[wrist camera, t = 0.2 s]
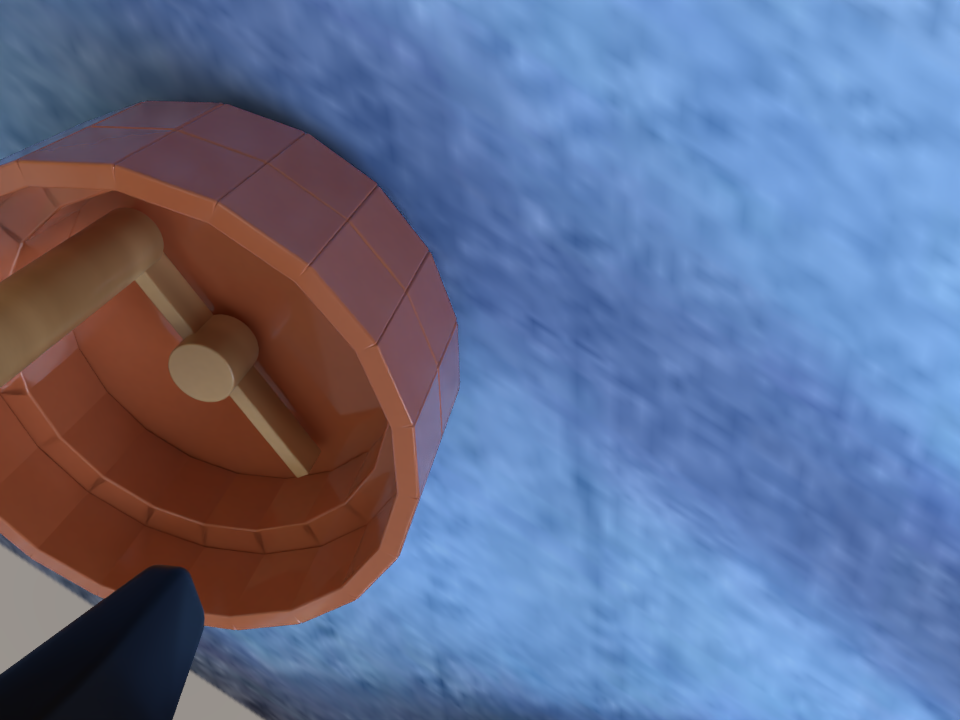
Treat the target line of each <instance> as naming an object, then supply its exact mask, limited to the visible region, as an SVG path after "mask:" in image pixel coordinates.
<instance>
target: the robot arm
mask: <svg viewBox="0 0 960 720" xmlns="http://www.w3.org/2000/svg"><path fill="white" fill-rule="evenodd" d="M204 621H205V616H204V610H203V607H202V604H201V601H200V599H199V596H198V593H197V591H196V588H195V585H194V583H193V580H192V577H191V575H190V573H189V571H188V570H186V569H185V568H184V567H179V566H169V565H152V566H150V567H148V568H146V569H145V570H143V571H142V572H140V573H139V574H138V575H136V576H135V577H134V578H132V579H131V580H129V581H128V582H127V583H125V584H124V585H123V586H121V587H120V588H118V589H117V590H116V591H114V592H113V593H112V594H110V595H109V596H107V597H106V598H105V599H103V600H102V601H101V602H99V603H98V604H96V605H95V606H94V607H92V608H91V609H90V610H88V611H87V612H85V613H84V614H83V615H81V616H80V617H79V618H77V619H76V620H75V621H73V622H72V623H70V624H69V625H68V626H66V627H65V628H63V629H62V630H61V631H59V632H58V633H57V634H55V635H54V636H52V637H51V638H50V639H49V640H47V641H46V642H44V643H43V644H42V645H40V646H39V647H37V648H36V649H35V650H33V651H32V652H31V653H29V654H28V655H27V656H25V657H24V658H23V659H21V660H20V661H18V662H17V663H16V664H14V665H13V666H11V667H10V668H9V669H7V670H6V671H5V672H3V673H2V674H0V720H172V719H173V716H174V713H175V710H176V707H177V705H178V702H179V699H180V696H181V693H182V690H183V687H184V684H185V682H186V678H187V676H188V673H189V670H190V667H191V664H192V661H193V658H194V656H195V653H196V650H197V647H198V644H199V641H200V638H201V635H202V632H203V628H204Z"/></svg>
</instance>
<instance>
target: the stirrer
mask: <svg viewBox="0 0 960 720" xmlns="http://www.w3.org/2000/svg"><path fill="white" fill-rule="evenodd" d="M163 249H164V242H163V237H162V234H161V232H160V230H159V228H158V227H157V225H156V224H155V223H154V222H153V220H152V219H150V218H149V217H148V216H147V215H146V214H144V213H142V212H140V211H138V210H136V209H132V208H117V209H114V210H112V211H110V212H109V213H107V214H106V215H104V216H103V217H101V218H100V219H98V220H96V221H95V222H93V223H92V224H90V225H89V226H87V227H85V228H84V229H82V230H81V231H79V232H78V233H76V234H74V235H73V236H71V237H70V238H68V239H67V240H65V241H64V242H62V243H60V244H59V245H57V246H56V247H54V248H53V249H51V250H49V251H48V252H46V253H45V254H43V255H42V256H40V257H38V258H37V259H35V260H34V261H32V262H31V263H29V264H27V265H26V266H24V267H23V268H21V269H20V270H18V271H17V272H15V273H13V274H12V275H10V276H9V277H7V278H6V279H4V280H2V281H1V282H0V388H1V387H2V386H4V385H5V384H6V383H7V382H9V381H10V380H11V379H12V378H14V377H15V376H16V375H17V374H19V373H20V372H21V371H22V370H24V369H25V368H26V367H27V366H29V365H30V364H31V363H32V362H34V361H35V360H36V359H37V358H39V357H40V356H41V355H42V354H43V353H45V352H46V351H47V350H48V349H50V348H51V347H52V346H53V345H55V344H56V343H57V342H58V341H60V340H61V339H62V338H63V337H65V336H66V335H67V334H68V333H70V332H71V331H72V330H73V329H75V328H76V327H77V326H78V325H80V324H81V323H82V322H83V321H85V320H86V319H87V318H88V317H90V316H91V315H92V314H93V313H95V312H96V311H97V310H98V309H99V308H101V307H102V306H103V305H104V304H106V303H107V302H108V301H109V300H111V299H112V298H113V297H114V296H116V295H117V294H118V293H119V292H121V291H122V290H123V289H124V288H126V287H127V286H128V285H129V284H131V283H132V282H133V281H134V280H135V281H136V283H137V284H138V285H139V286H140V288H141V289H142V290H143V291H144V292H145V294H146V295H147V296H148V297H149V298H150V300H151V301H152V302H153V303H154V305H155V306H156V307H157V308H158V309H159V311H160V312H161V313H162V314H163V315H164V317H165V318H166V319H167V320H168V322H169V323H170V324H171V325H172V326H173V328H174V329H175V330H176V331H177V332H178V334H179V335H180V336H181V337H182V339H183V340H182V341H181V342H180V343H179V344H178V345H177V346H176V347H175V349H174V350H173V351H172V352H171V354H170V356H169V360H168V368H169V372H170V375H171V377H172V379H173V381H174V382H175V384H176V385H177V386H178V387H179V388H180V389H181V390H182V391H183V392H184V393H186V394H187V395H189V396H190V397H192V398H194V399H197V400H200V401H204V402H217V401H221V400H223V399H225V398H227V397H228V396H230V397H231V398H232V399H233V401H234V402H235V403H236V404H237V405H238V407H239V408H240V409H241V410H242V411H243V413H244V414H245V415H246V416H247V418H248V419H249V420H250V421H251V422H252V424H253V425H254V426H255V427H256V428H257V430H258V431H259V432H260V433H261V435H262V436H263V437H264V438H265V439H266V441H267V442H268V443H269V444H270V445H271V447H272V448H273V449H274V450H275V452H276V453H277V454H278V455H279V456H280V458H281V459H282V460H283V461H284V462H285V464H286V465H287V466H288V467H289V469H290V470H291V471H292V472H293V473H294V475H295V476H296V477H297V478H299V477H302V476H304V475H307V474H309V472H310V471H311V469H312V467H313V465H314V463H315V462H316V460H317V458H318V456H319V454H320V453H321V450H320V449H319V447H318V446H317V445H316V444H315V442H314V441H313V440H312V438H311V437H310V436H309V435H308V433H307V432H306V431H305V430H304V428H303V427H302V426H301V425H300V423H299V422H298V421H297V420H296V418H295V417H294V416H293V415H292V413H291V412H290V411H289V409H288V408H287V407H286V406H285V404H284V403H283V402H282V401H281V399H280V398H279V397H278V396H277V394H276V393H275V392H274V391H273V389H272V388H271V387H270V386H269V384H268V383H267V382H266V381H265V379H264V378H263V377H262V375H261V374H260V373H259V372H258V370H257V369H256V368H255V367H254V364H255V362H256V360H257V358H258V354H259V347H258V342H257V339H256V337H255V335H254V334H253V332H252V331H251V330H250V329H249V327H248V326H246V325H245V324H244V323H243V322H241V321H240V320H238V319H236V318H234V317H231V316H228V315H223V314H217V315H213V314H212V312H211V311H210V310H209V309H208V307H207V306H206V305H205V304H204V302H203V301H202V300H201V299H200V297H199V296H198V295H197V294H196V292H195V291H194V290H193V288H192V287H191V286H190V285H189V283H188V282H187V281H186V280H185V278H184V277H183V276H182V275H181V273H180V272H179V271H178V270H177V268H176V267H175V266H174V265H173V263H172V262H171V261H170V260H169V258H168V257H167V256H166V254H165V253H164V252H163Z"/></svg>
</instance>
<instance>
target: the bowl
mask: <svg viewBox="0 0 960 720" xmlns="http://www.w3.org/2000/svg"><path fill="white" fill-rule="evenodd" d="M117 208H132V209H136V210H138V211H140V212H142V213H144V214H146V215H147V216H148V217H149V218H150V219H152V220H153V222H154V223H155V224H156V225H157V227H158V228H159V230H160V232H161V234H162V237H163V242H164V249H163V252H164V253H165V254H166V256H167V257H168V258H169V260H170V261H171V262H172V263H173V265H174V266H175V267H176V268H177V270H178V271H179V272H180V273H181V275H182V276H183V277H184V278H185V280H186V281H187V282H188V283H189V285H190V286H191V287H192V288H193V290H194V291H195V292H196V294H197V295H198V296H199V297H200V299H201V300H202V301H203V302H204V304H205V305H206V306H207V307H208V309H209V310H210V311H211V312H212V314H213V315H217V314H223V315H228V316H231V317H234V318H236V319H238V320H240V321H241V322H243V323H244V324H245V325H246V326H248V327H249V329H250V330H251V331H252V332H253V334H254V335H255V337H256V339H257V342H258V347H259V354H258V358H257V360H256V362H255V364H254V367H255V368H256V369H257V370H258V372H259V373H260V374H261V375H262V377H263V378H264V379H265V381H266V382H267V383H268V384H269V386H270V387H271V388H272V389H273V391H274V392H275V393H276V394H277V396H278V397H279V398H280V399H281V401H282V402H283V403H284V404H285V406H286V407H287V408H288V409H289V411H290V412H291V413H292V415H293V416H294V417H295V418H296V420H297V421H298V422H299V423H300V425H301V426H302V427H303V428H304V430H305V431H306V432H307V433H308V435H309V436H310V437H311V438H312V440H313V441H314V442H315V444H316V445H317V446H318V447H319V449H320V450H321V453H320V454H319V456H318V458H317V460H316V462H315V463H314V465H313V467H312V469H311V471H310V472H309V474H307V475H304V476H302V477H299V478H297V477H296V476H295V475H294V473H293V472H292V471H291V470H290V469H289V467H288V466H287V465H286V464H285V462H284V461H283V460H282V459H281V458H280V456H279V455H278V454H277V453H276V452H275V450H274V449H273V448H272V447H271V445H270V444H269V443H268V442H267V441H266V439H265V438H264V437H263V436H262V435H261V433H260V432H259V431H258V430H257V428H256V427H255V426H254V425H253V424H252V422H251V421H250V420H249V419H248V418H247V416H246V415H245V414H244V413H243V411H242V410H241V409H240V408H239V407H238V405H237V404H236V403H235V402H234V401H233V399H232V398H231V397H230V396H228V397H227V398H225V399H223V400H221V401H217V402H204V401H200V400H197V399H194V398H192V397H190V396H189V395H187V394H186V393H184V392H183V391H182V390H181V389H180V388H179V387H178V386H177V385H176V384H175V382H174V381H173V379H172V377H171V375H170V372H169V368H168V360H169V356H170V354H171V352H172V351H173V350H174V349H175V347H176V346H177V345H178V344H179V343H180V342H181V341H182V340H183V339H182V337H181V336H180V335H179V334H178V332H177V331H176V330H175V329H174V328H173V326H172V325H171V324H170V323H169V322H168V320H167V319H166V318H165V317H164V315H163V314H162V313H161V312H160V311H159V309H158V308H157V307H156V306H155V305H154V303H153V302H152V301H151V300H150V298H149V297H148V296H147V295H146V294H145V292H144V291H143V290H142V289H141V288H140V286H139V285H138V284H137V283H136V281H135V280H134V281H133V282H132V283H131V284H129V285H128V286H127V287H126V288H124V289H123V290H122V291H121V292H119V293H118V294H117V295H116V296H114V297H113V298H112V299H111V300H109V301H108V302H107V303H106V304H104V305H103V306H102V307H101V308H99V309H98V310H97V311H96V312H95V313H93V314H92V315H91V316H90V317H88V318H87V319H86V320H85V321H83V322H82V323H81V324H80V325H78V326H77V327H76V328H75V329H73V330H72V331H71V332H70V333H68V334H67V335H66V336H65V337H63V338H62V339H61V340H60V341H58V342H57V343H56V344H55V345H53V346H52V347H51V348H50V349H48V350H47V351H46V352H45V353H43V354H42V355H41V356H40V357H39V358H37V359H36V360H35V361H34V362H32V363H31V364H30V365H29V366H27V367H26V368H25V369H24V370H22V371H21V372H20V373H19V374H17V375H16V376H15V377H14V378H12V379H11V380H10V381H9V382H7V383H6V384H5V385H4V386H2V387H1V388H0V533H1V534H2V535H3V536H4V537H6V538H7V539H8V540H9V541H10V542H12V543H13V544H14V545H15V546H16V547H18V548H19V549H20V550H21V551H22V552H24V553H25V554H26V555H27V556H30V558H31V559H33V560H34V561H36V562H38V563H40V564H41V565H43V566H45V567H47V568H48V569H50V570H52V571H54V572H55V573H57V574H59V575H61V576H63V577H64V578H66V579H68V580H70V581H71V582H73V583H75V584H77V585H78V586H80V587H82V588H84V589H85V590H87V591H89V592H91V593H92V594H94V595H98V596H99V597H101V598H104V599H105V598H106V597H107V596H109V595H110V594H112V593H113V592H114V591H116V590H117V589H118V588H120V587H121V586H123V585H124V584H125V583H127V582H128V581H129V580H131V579H132V578H134V577H135V576H136V575H138V574H139V573H140V572H142V571H143V570H145V569H146V568H148V567H150V566H152V565H169V566H179V567H184V568H185V569H186V570H188V571H189V573H190V575H191V577H192V580H193V583H194V585H195V588H196V591H197V593H198V596H199V599H200V601H201V604H202V607H203V610H204V616H205V621H204V626H210V627H217V628H224V629H231V630H244V629H254V628H264V627H274V626H284V625H294V624H300V623H303V622H306V621H308V620H310V619H313V618H315V617H317V616H320V615H322V614H324V613H327V612H329V611H331V610H334V609H336V608H338V607H341V606H343V605H345V604H348V603H350V602H352V601H355V600H356V599H358V598H359V597H360V596H361V595H362V594H363V593H364V592H365V591H366V590H367V589H368V588H369V587H370V586H371V585H372V584H373V583H374V582H375V581H376V580H377V579H378V578H379V577H380V576H381V575H382V574H383V573H384V572H385V571H386V570H387V569H388V568H389V567H390V566H391V565H392V564H393V563H394V562H395V561H396V560H397V559H398V556H399V555H400V553H401V551H402V548H403V545H404V542H405V539H406V537H407V534H408V531H409V528H410V525H411V523H412V520H413V517H414V514H415V511H416V509H417V506H418V503H419V500H420V497H421V495H422V492H423V489H424V486H425V483H426V481H427V478H428V475H429V472H430V470H431V467H432V464H433V461H434V458H435V456H436V453H437V450H438V447H439V444H440V442H441V439H442V436H443V433H444V430H445V428H446V425H447V422H448V419H449V416H450V414H451V411H452V408H453V405H454V402H455V400H456V397H457V394H458V391H459V385H460V375H459V348H458V324H457V322H456V321H457V318H456V316H455V313H454V311H453V308H452V306H451V303H450V301H449V298H448V295H447V293H446V290H445V288H444V285H443V283H442V280H441V277H440V275H439V272H438V270H437V267H436V265H435V262H434V259H433V257H432V254H431V252H428V251H429V250H428V248H427V246H426V245H425V244H424V243H423V241H422V240H421V239H420V238H419V236H418V235H417V234H416V232H415V231H414V230H413V229H412V227H411V226H410V225H409V224H408V222H407V221H406V220H405V218H404V217H403V216H402V215H401V213H400V212H399V211H398V210H397V208H396V207H395V206H394V204H393V203H392V202H391V201H390V199H389V198H388V197H387V196H386V194H385V193H384V192H383V190H382V189H381V188H380V187H379V186H377V183H376V182H374V181H373V180H372V179H370V178H369V177H368V176H366V175H365V174H363V173H362V172H361V171H359V170H358V169H357V168H355V167H354V166H352V165H351V164H350V163H348V162H347V161H346V160H344V159H343V158H341V157H340V156H339V155H337V154H336V153H335V152H333V151H332V150H330V149H329V148H328V147H326V146H325V145H324V144H322V143H321V142H319V141H318V140H317V139H315V138H314V137H313V136H311V135H310V134H308V133H306V134H305V132H304V131H301V130H298V129H296V128H293V127H290V126H287V125H284V124H282V123H279V122H276V121H273V120H271V119H268V118H265V117H262V116H259V115H257V114H254V113H251V112H248V111H246V110H243V109H240V108H237V107H234V106H232V105H229V104H223V103H214V102H177V101H145V102H139V103H136V104H133V105H131V106H128V107H125V108H122V109H120V110H117V111H114V112H111V113H109V114H106V115H103V116H101V117H98V118H95V119H92V120H90V121H87V122H84V123H81V124H79V125H77V126H75V127H72V128H70V129H68V130H66V131H63V132H61V133H59V134H57V135H55V136H52V137H50V138H48V139H46V140H43V141H41V142H39V143H37V144H34V145H32V146H30V147H28V148H26V149H23V150H22V151H19V152H17V153H14V154H12V155H10V156H8V157H5V158H3V159H1V160H0V282H1V281H2V280H4V279H6V278H7V277H9V276H10V275H12V274H13V273H15V272H17V271H18V270H20V269H21V268H23V267H24V266H26V265H27V264H29V263H31V262H32V261H34V260H35V259H37V258H38V257H40V256H42V255H43V254H45V253H46V252H48V251H49V250H51V249H53V248H54V247H56V246H57V245H59V244H60V243H62V242H64V241H65V240H67V239H68V238H70V237H71V236H73V235H74V234H76V233H78V232H79V231H81V230H82V229H84V228H85V227H87V226H89V225H90V224H92V223H93V222H95V221H96V220H98V219H100V218H101V217H103V216H104V215H106V214H107V213H109V212H110V211H112V210H114V209H117Z"/></svg>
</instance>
